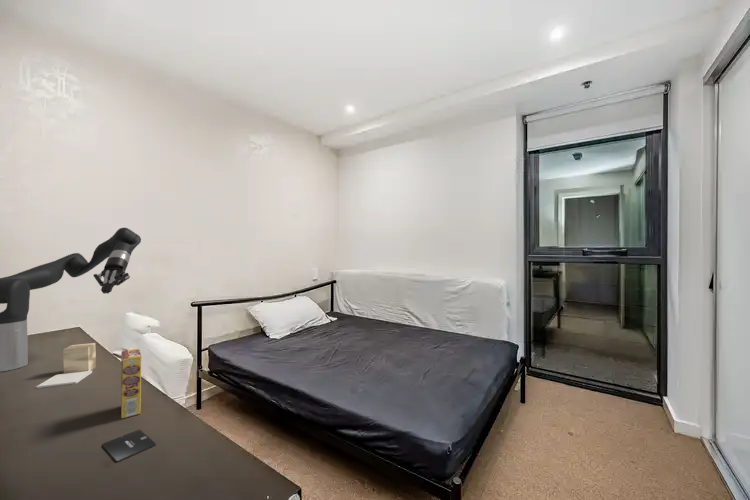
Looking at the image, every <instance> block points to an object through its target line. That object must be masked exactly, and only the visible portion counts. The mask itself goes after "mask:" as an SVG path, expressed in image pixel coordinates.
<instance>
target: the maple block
mask: <svg viewBox="0 0 750 500" xmlns="http://www.w3.org/2000/svg"><path fill="white" fill-rule="evenodd" d="M96 350H97V349H96V342H92V343H91V342H90V343H81V344H80V343H79V344H72V345H69V346H67V347H65V348H63V349H62V351H63V352H62V354H63V356H62V358H63V374H67V373H76V372H85V371H93V369H94V370H95V368H96V367H97V361H96V360H97V359H96V358H97V357H96V356H97V355H96Z"/></svg>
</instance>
